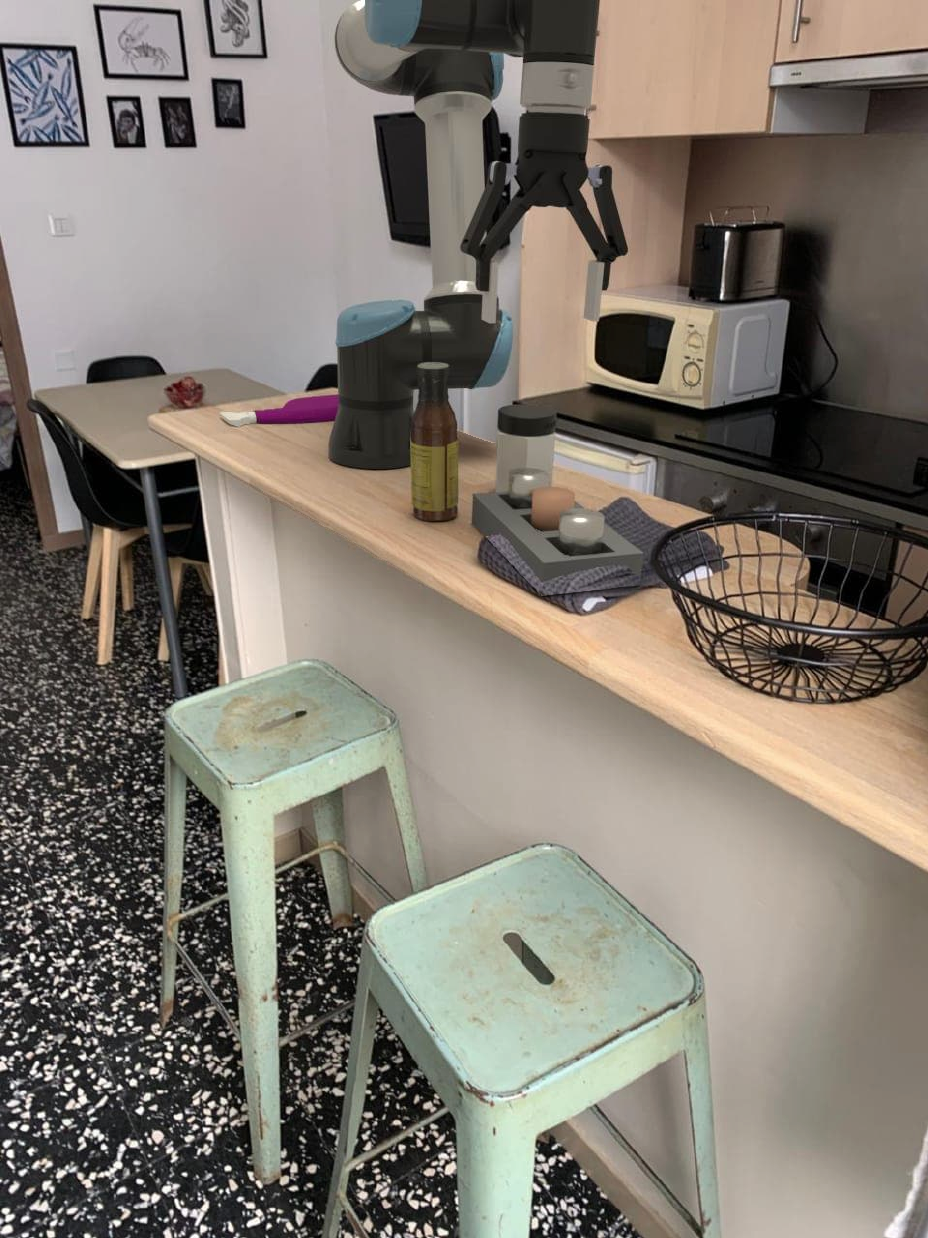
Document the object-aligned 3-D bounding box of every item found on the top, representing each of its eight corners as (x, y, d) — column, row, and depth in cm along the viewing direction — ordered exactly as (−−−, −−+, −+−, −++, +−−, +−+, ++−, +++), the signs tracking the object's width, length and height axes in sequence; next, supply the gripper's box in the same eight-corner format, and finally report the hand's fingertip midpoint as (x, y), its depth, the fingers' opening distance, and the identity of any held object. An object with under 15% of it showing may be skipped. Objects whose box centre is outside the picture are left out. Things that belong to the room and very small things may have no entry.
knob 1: (502, 499, 121) (503, 469, 119) (537, 496, 122) (539, 466, 120) (515, 511, 116) (517, 480, 115) (552, 508, 118) (555, 478, 116)
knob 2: (550, 543, 107) (552, 509, 105) (589, 539, 108) (592, 506, 107) (567, 559, 103) (570, 524, 101) (608, 555, 104) (612, 521, 102)
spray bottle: (366, 420, 172) (235, 435, 161) (343, 407, 180) (217, 420, 169) (366, 404, 171) (234, 418, 160) (343, 391, 179) (216, 404, 168)
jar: (553, 505, 130) (559, 419, 125) (494, 503, 130) (498, 417, 125) (548, 485, 138) (554, 404, 133) (493, 483, 138) (497, 402, 133)
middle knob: (524, 519, 114) (526, 488, 112) (562, 516, 115) (564, 485, 114) (540, 533, 110) (542, 501, 108) (579, 530, 111) (582, 498, 109)
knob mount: (471, 523, 122) (472, 493, 121) (556, 516, 126) (558, 487, 124) (541, 596, 102) (543, 562, 100) (639, 586, 105) (643, 553, 104)
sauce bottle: (445, 505, 129) (449, 358, 120) (466, 519, 124) (471, 367, 115) (401, 511, 126) (402, 360, 117) (421, 526, 121) (423, 370, 112)
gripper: (456, 104, 93) (450, 327, 102) (673, 116, 100) (649, 323, 110) (435, 106, 99) (431, 316, 109) (640, 117, 106) (620, 313, 116)
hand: (540, 320), depth 109 cm, fingers open, 12 cm apart
